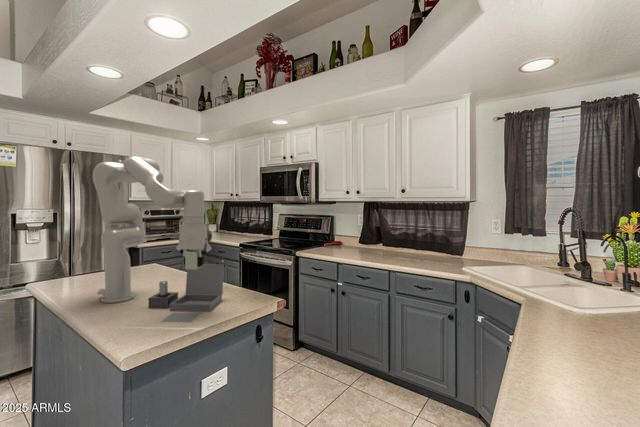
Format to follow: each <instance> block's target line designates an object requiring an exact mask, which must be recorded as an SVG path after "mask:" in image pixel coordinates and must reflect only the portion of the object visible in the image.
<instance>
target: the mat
mask: <svg viewBox="0 0 640 427" xmlns="http://www.w3.org/2000/svg"><path fill="white" fill-rule="evenodd" d="M201 314H202V312H171V313H170V314H169V315H168V316H166V317H164V318H163V319H161V320H160V322H161V323H192V322H193V321H195V320H196V318H198V317H199V316H200V315H201Z"/></svg>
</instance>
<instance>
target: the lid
mask: <svg viewBox="0 0 640 427" xmlns="http://www.w3.org/2000/svg"><path fill="white" fill-rule="evenodd" d="M186 271H187V272H186V281H185V282H186V283H185V294H200V295H222V296H223V293H224V292H223V291H224V275H225V273H224V272H225V264H224V263H222V264H220V263H217V264H215V263H203V265H202V267H200V268H198V269H186Z"/></svg>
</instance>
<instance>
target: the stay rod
mask: <svg viewBox="0 0 640 427" xmlns="http://www.w3.org/2000/svg"><path fill="white" fill-rule="evenodd" d="M158 284H159V290H158V291H159V292H158V293H159V295H160V297H167V296H168V292H169V291H168V289H169V288H168V285H169V284H168V280H163V281H162V280H161V281H159V283H158Z"/></svg>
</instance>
